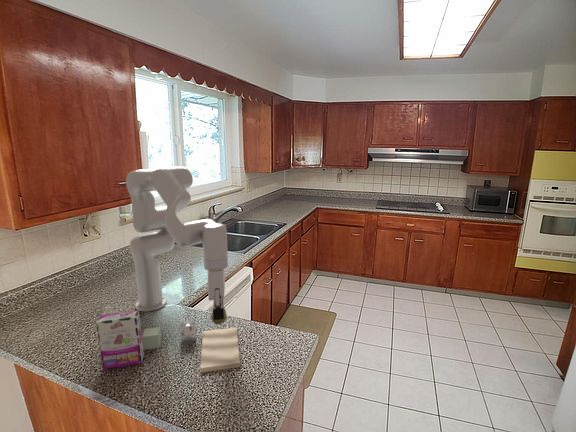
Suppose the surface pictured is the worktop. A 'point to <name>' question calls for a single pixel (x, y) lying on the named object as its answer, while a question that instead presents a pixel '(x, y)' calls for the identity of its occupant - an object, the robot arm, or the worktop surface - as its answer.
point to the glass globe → (188, 332)
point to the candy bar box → (120, 339)
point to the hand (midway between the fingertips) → (218, 313)
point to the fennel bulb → (220, 319)
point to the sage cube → (151, 338)
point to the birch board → (219, 350)
